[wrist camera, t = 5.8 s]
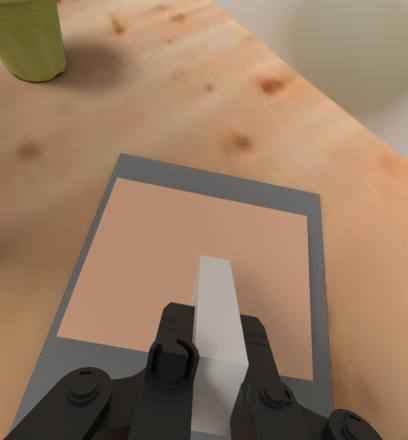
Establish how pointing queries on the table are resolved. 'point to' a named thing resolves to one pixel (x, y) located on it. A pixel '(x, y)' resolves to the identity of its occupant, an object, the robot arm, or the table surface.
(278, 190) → the rubber mat
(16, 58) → the plant pot
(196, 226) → the terracotta tile
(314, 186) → the table surface
